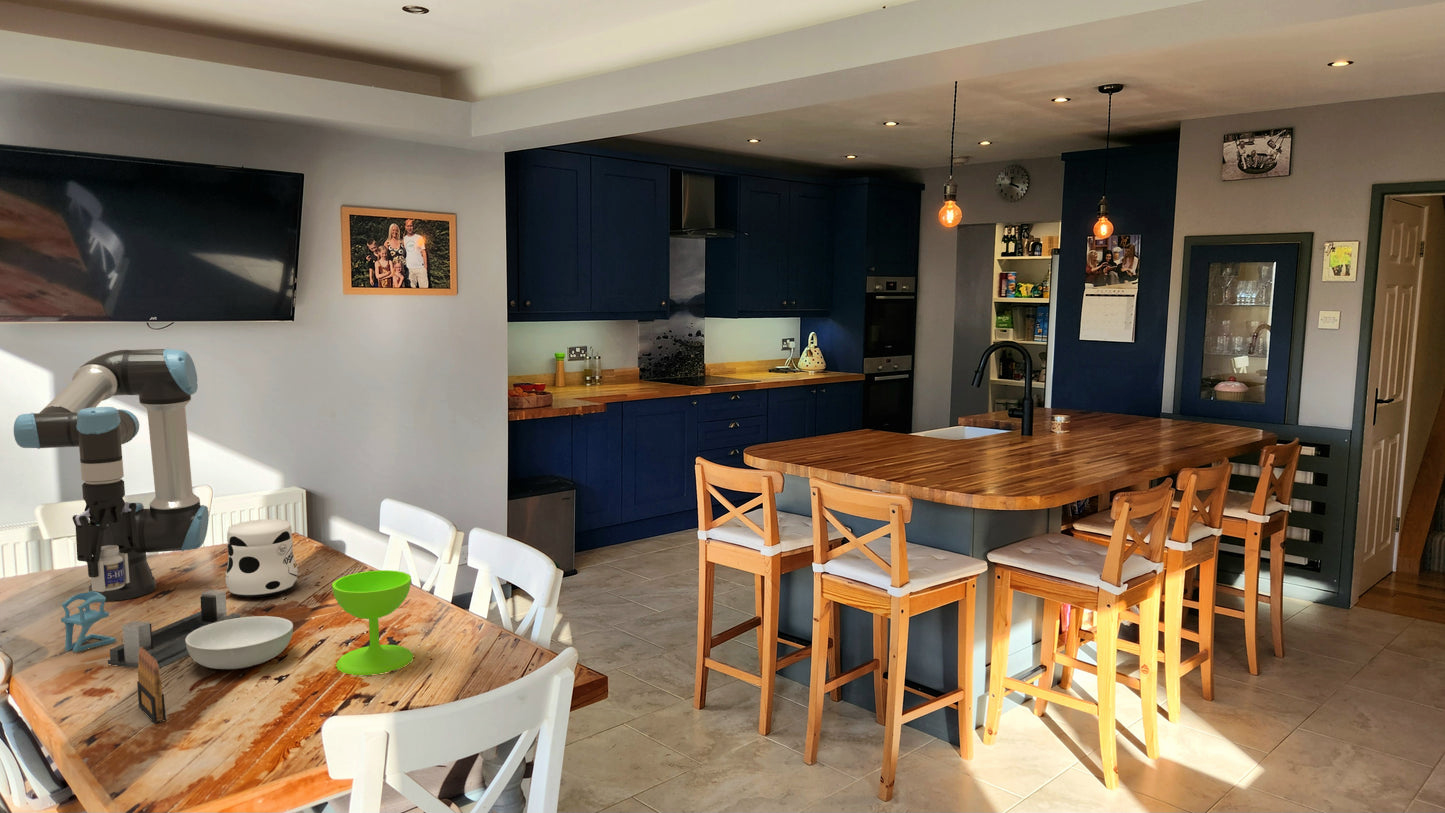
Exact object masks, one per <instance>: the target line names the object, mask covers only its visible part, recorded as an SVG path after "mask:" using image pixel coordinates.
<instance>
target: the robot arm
mask: <svg viewBox="0 0 1445 813" xmlns="http://www.w3.org/2000/svg"><path fill="white" fill-rule="evenodd" d="M198 387H199V386H198V375H197V370H196V366H195V362H194V361H193V358H192V357H191V355H190V354H189V353H188V352H187V351H186V350H182V349H173V348H172V349H171V348H155V349H154V348H153V349H150V348H149V349H118V350H113V351H110V352H109V351H108V352H106V353H103V354H101V355H99V356H96V357H95V358H92V359H90V360H88V361H87V362H85V363H84V364H82V365H81V366H80V367H79V368H78V369H77V370H75V372H74V373H73V375H72V379H71V382H70V383H69V384H68V385H67V386H66V387H65V388H64V389H63V390H61V391H60V392H59V393H58V394H57V395H56V396H55V397H54V398H53V399H52V400H51V401H50V402H49V403H48V404H47V405H46V406H45V407H44V408H43V409H41V411H40V412H39V413H36V412H35V413H34V412H30V413H22V414H18V416H17V417H16V419H15V421H14V424H13V436H14V437H13V438H14V441H15V443H16V444H17V445H18V446H19V447H20V448H24V449H37V450H39V449H52V448H54V449H55V448H56V449H57V448H74V447H76V448H79V450H78V451H79V461H80V463H79V464H80V473H81V475H80V476H81V481H82V482H83V483H82V484H81V489H82V499H83V501H84V502H85V508H84V512H82V513H80V514H79V515H78V514H74V515H73V516H72V521H73V523H74V525H75V541H76V559H77V561H78V562H86V563H87V572H88V573H87V575H88V577H89V578H90V580H91V581H90V585H89V586H88V591H87V592H90V591H94V592H98V593H100V594H102V595H103V596H104V597H105V598H106V600H105V602H115V601H114V600H117V601H124V599H125V600H130V599H135V598H139V597H142V596H146V595H148V594H151V593H152V592H154V591H155V590H157V581H156V578H155V577H154V575H153V572H152V569H151V567H150V565H149V564H148V560H147V553H162V552H164V553H165V552H177V551H178V552H185V551H191V550H198V549H200V548H201V547H202V546H203V545H204V542H205V540H206V537H207V533H208V527H209V519H210V518H209V514H210V513H209V508H208V506H207V505H204V504H202V505H201V499H200V497H199V496H198V495H196V494H195V493H194V491H193V481H192V472H191V471H192V470H191V460H190V449H189V437H188V436H189V435H188V424H187V414H186V406H187V405H188V404H189V403H190V402H191V401H192V395H195V394H196V393H197V390H198ZM113 396H114V397H116V396H138V400H139V404H140V405H141V406H143V407H144V408H145V409H146V410H147V412H146V413H147V421H148V423H147V424H148V431H149V443H150V453H151V462H152V474H153V483H154V484H153V485H154V493H155V494H154V495H155V497H154V498H153V500H152V501H150V503H149V508H145V506H144V504H143V503H142V502H126V501H125V500H124V497H125V495H126V490H125V480H124V479H122V478H123V477H124V476H125V475H124V474H125V473H124V463H123V462H124V460H123V451H122V450H123V449H122V448H123V447H122V445H125V444H127V443H129V442H131V441H132V440H133V439H134V438H135V437H136V436H137V435H138V433H139V430H140V421H139V418H138V417H137V416H136V415H135V414H134V413H133V412H131V411H129V410H127V409H120V408H119V409H118V408H116V407H113V406H99V404H100V403H101V402H102V401H107V400H108V399H110V398H112V397H113ZM107 545H117V546H119V553H118V555H120V556H122V558H123V567H124V581H125V585H124V586H123V587H122V588H119V589H116V590H110V591H105V579H104V566H103V561H99V559H100V553H101V547H102V546H107ZM145 594H146V595H145Z"/></svg>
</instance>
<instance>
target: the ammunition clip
mask: <svg viewBox="0 0 1445 813" xmlns="http://www.w3.org/2000/svg"><path fill="white" fill-rule="evenodd" d="M137 678H138V681H136V682H137V697H138V698H137V699H138V707H139V708H140V710H142V711H144V712H145V713H146V714H147V715H148V716H149V717H148V716H147V715H146V714H145V713H144V714H145V715H146V716H147V717H148V718H149V719H150V718H151V719H152V720H151V719H150V720H151V721H152V723H153V724H155V723H156V724H158V723H157V722H159V723H161V722H160V721H163V720H166V721H167V717H166V706H165V694H164V693H163V686H162V678H161V674H160V668H159V666H158V663H157V661H156V659H154V658H153V657H151V655H150V654H148V652H147V651H145V649H143V648H142V647H140V649H139V655H138V669H137ZM163 722H164V721H163Z"/></svg>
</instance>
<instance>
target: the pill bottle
mask: <svg viewBox="0 0 1445 813" xmlns="http://www.w3.org/2000/svg"><path fill="white" fill-rule="evenodd" d="M118 553H119V546H117V545H107V546H102V547H101V553H100V559H99V561H103V566H104V579H105V591H110V590H116V589H119V588H122V587H123V586H124V585H125V581H124V567H123V558H122V556H120V555H118Z"/></svg>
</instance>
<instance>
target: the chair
mask: <svg viewBox="0 0 1445 813" xmlns="http://www.w3.org/2000/svg"><path fill="white" fill-rule="evenodd" d="M77 600H80V601H84V602H83V603H82V604H80V605H79V606H77V609H78V611H79V612H78V613H74V614H70V612H71V611H70V609H69V608H68V606H70V604H71V603H73V602H74V601H77ZM105 600H106V598H105V597H104V596H103V595H102V594H100V593H98V592H94V591H90V592H89V591H86V592H80V593H78V594H74V595H73V596H70V597H69V598H67V600H66V601H64V602H62V603H61V604H60V605H61V607H62V608H63V610H64V617H62V618H60V622H61V623H64V626H65V627H64V628H65V640H64V641H65V642H64V644H65V645H64V646H65V647H64V652H69V650H70V651H72V653H73V652H76V653H78V652H77V651H80V652H83V651H86V650H85V649H87V650H89V649H88V648H91V649H93V648H92V647H95V648H97V646H99V647H101V645H103V646H106V645H105V644H107V645H110V644H113V642H114V643H116V642H117V638H116V637H113V636H107V635H100V634H95V633H91V634H88V632H89V630H90V629H91V627H92V626H93V625H94V624H95V623H97V622H99V621H101V620H102V619H105V618H107V617H110V612H108V611H105V608H104V607H105V604H106V601H105ZM95 603H100V605H99V608H98V609H99V610H94V609H91V607H90V605H92V604H95ZM75 625H76V626H81V627H82V628H81V631H80V634H79V636H78V638H77V640H76V641H75V642H73V635H74V634H73V633H74V626H75ZM91 638H92V639H94V638H97V639H96V640H99V639H101V640H100V641H96V642H92V643H86V642H88V641H90V640H92V639H91ZM89 639H90V640H89ZM87 640H88V641H87ZM84 642H85V643H86V644H85V643H84ZM82 643H83V644H82ZM71 649H72V650H71ZM82 650H83V651H82Z"/></svg>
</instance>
